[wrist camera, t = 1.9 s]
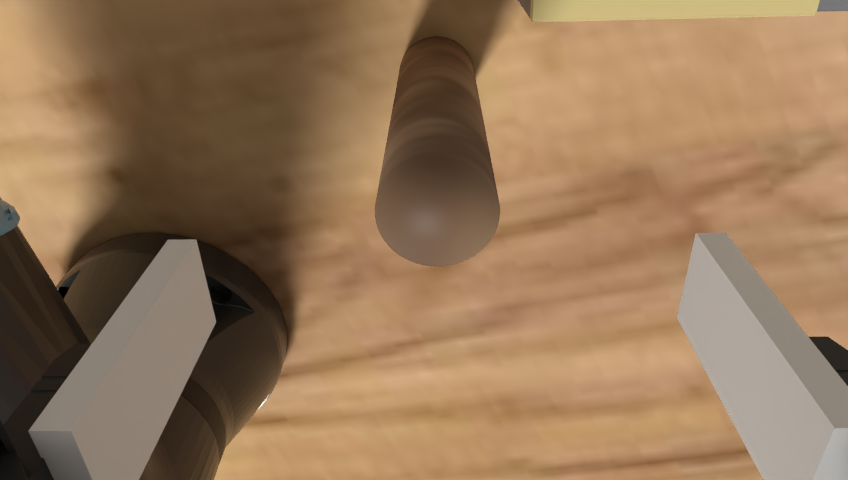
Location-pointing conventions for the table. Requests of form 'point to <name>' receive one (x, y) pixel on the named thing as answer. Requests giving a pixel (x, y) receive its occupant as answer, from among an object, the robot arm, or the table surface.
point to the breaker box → (672, 9)
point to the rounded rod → (437, 160)
